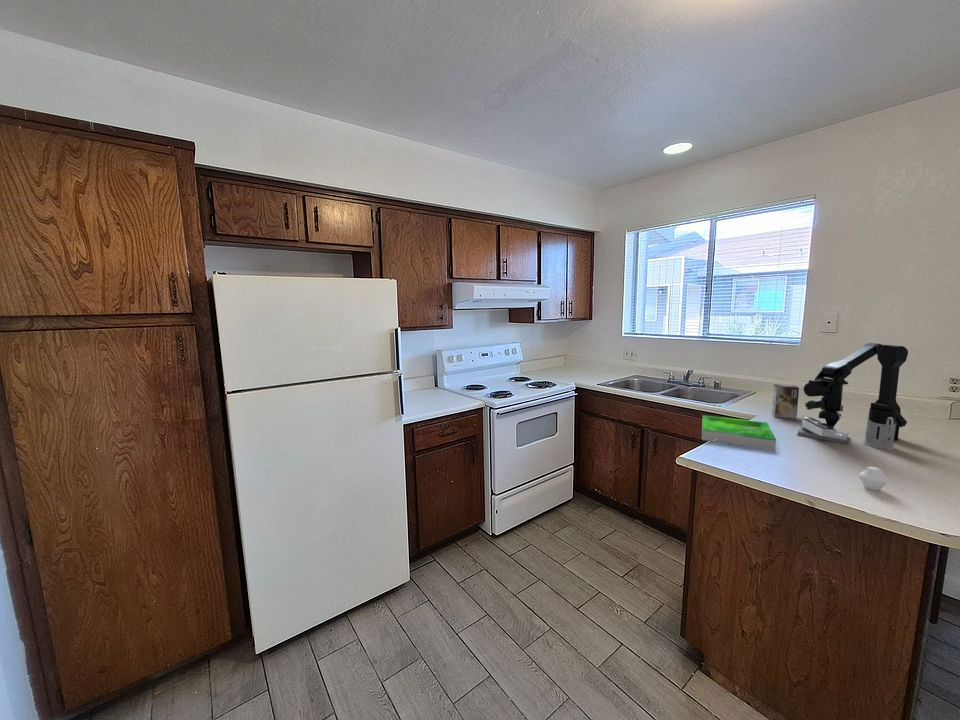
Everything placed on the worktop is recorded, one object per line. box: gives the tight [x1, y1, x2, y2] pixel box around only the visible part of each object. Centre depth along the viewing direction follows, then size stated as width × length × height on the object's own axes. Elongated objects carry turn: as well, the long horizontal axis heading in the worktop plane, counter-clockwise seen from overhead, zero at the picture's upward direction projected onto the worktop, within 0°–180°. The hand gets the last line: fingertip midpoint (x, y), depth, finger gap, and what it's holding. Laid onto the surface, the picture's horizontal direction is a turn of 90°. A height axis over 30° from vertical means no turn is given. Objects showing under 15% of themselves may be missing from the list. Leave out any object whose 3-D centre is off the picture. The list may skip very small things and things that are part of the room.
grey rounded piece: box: [862, 406, 897, 450], centre depth 148 cm, size 9×14×15 cm, turn 149°
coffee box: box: [771, 384, 800, 419], centre depth 192 cm, size 9×6×16 cm
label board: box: [797, 425, 849, 445], centre depth 163 cm, size 16×12×2 cm
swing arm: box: [801, 416, 838, 437], centre depth 161 cm, size 15×5×5 cm, turn 168°
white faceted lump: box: [858, 466, 889, 491], centre depth 115 cm, size 6×6×7 cm
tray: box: [701, 414, 777, 451], centre depth 164 cm, size 25×25×5 cm
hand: (829, 430), depth 159 cm, fingers closed
